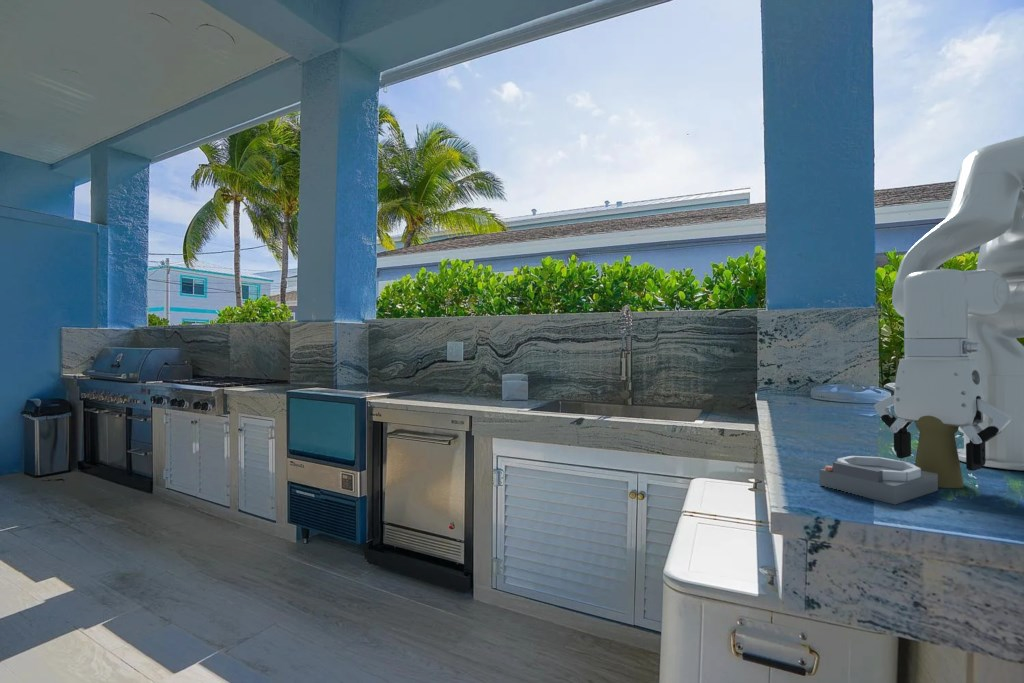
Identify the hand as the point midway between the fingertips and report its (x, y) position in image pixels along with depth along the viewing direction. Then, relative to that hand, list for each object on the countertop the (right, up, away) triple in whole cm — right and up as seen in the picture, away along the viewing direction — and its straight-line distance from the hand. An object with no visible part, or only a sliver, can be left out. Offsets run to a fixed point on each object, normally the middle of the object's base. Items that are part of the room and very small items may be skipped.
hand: (937, 462), depth 76 cm
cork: (0, -3, 0) cm, 3 cm away
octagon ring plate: (-11, -3, -3) cm, 12 cm away
